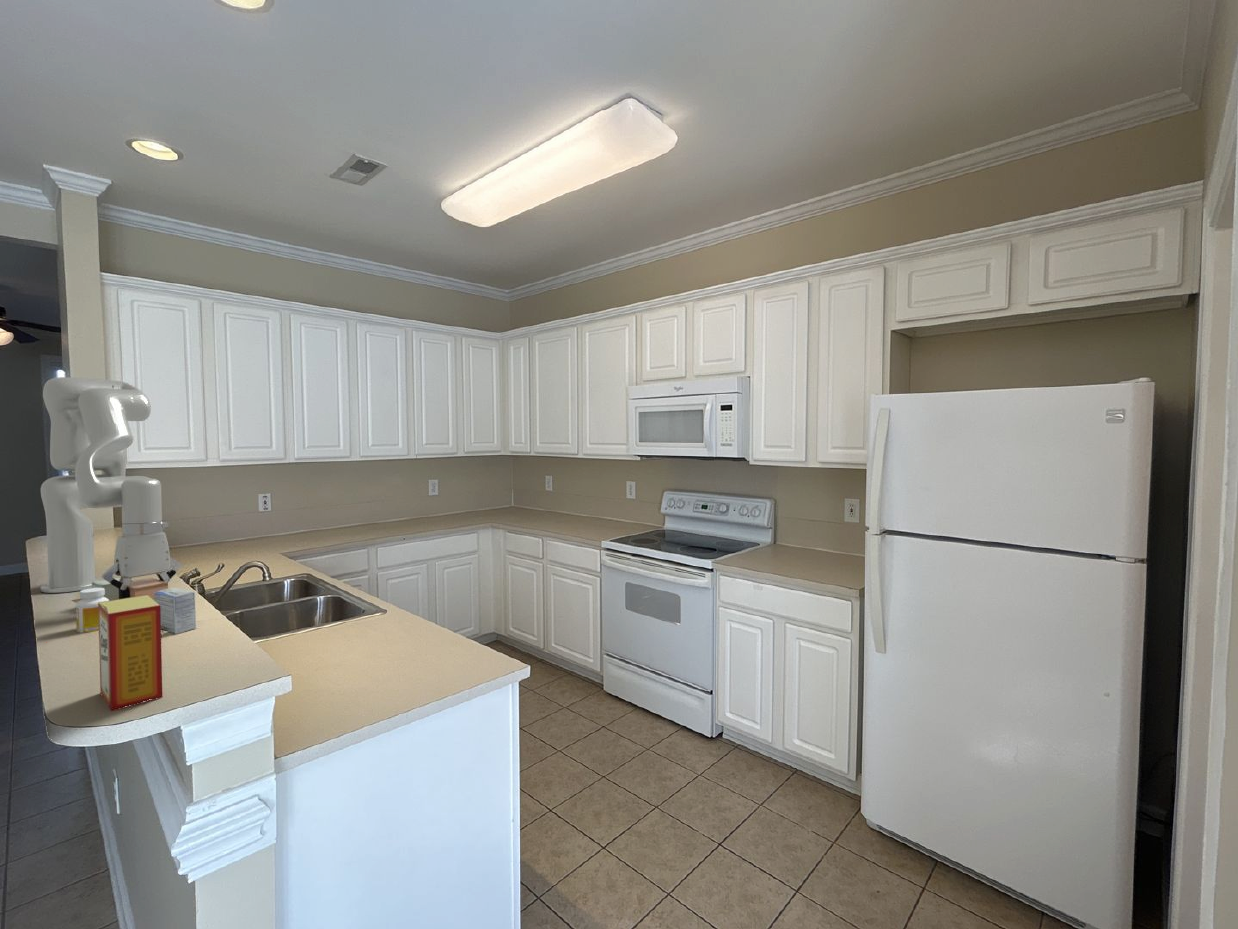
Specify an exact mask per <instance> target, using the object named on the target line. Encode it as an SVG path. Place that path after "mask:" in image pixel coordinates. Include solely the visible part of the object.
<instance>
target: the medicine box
mask: <svg viewBox="0 0 1238 929" xmlns="http://www.w3.org/2000/svg"><path fill="white" fill-rule="evenodd" d="M154 601H155V602H157V603H158V604H159V605H160V609H161V627H164V628H161V631H162V632H163V631H164V632H166V633H167V632H168V633H170V634H174V635H177V634H181V633H185V632H189V631H192V630H193V631H194V630H195V629H197V614H196V611H197V610H196V609H197V608H196V592H195V591H194V590H193V591H192V590H188V589H185V588H179V587H171V588H168V589H165V590H160V591H157V592H155V593H154Z"/></svg>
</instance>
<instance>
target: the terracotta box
mask: <svg viewBox="0 0 1238 929" xmlns="http://www.w3.org/2000/svg"><path fill="white" fill-rule="evenodd" d="M128 589H129V590H130V597H137V596H143V595H148V596H149V597H150V598H152V599H153V600H154V593H155V592H157V591H160V590H165V589H169V582H168V583H167V582H164V581H161V580H159V578H158V579H157V578H154V577H150V578H144V579H137V580H136V579H135V580H132V581H130V583H129V585H128Z"/></svg>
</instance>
